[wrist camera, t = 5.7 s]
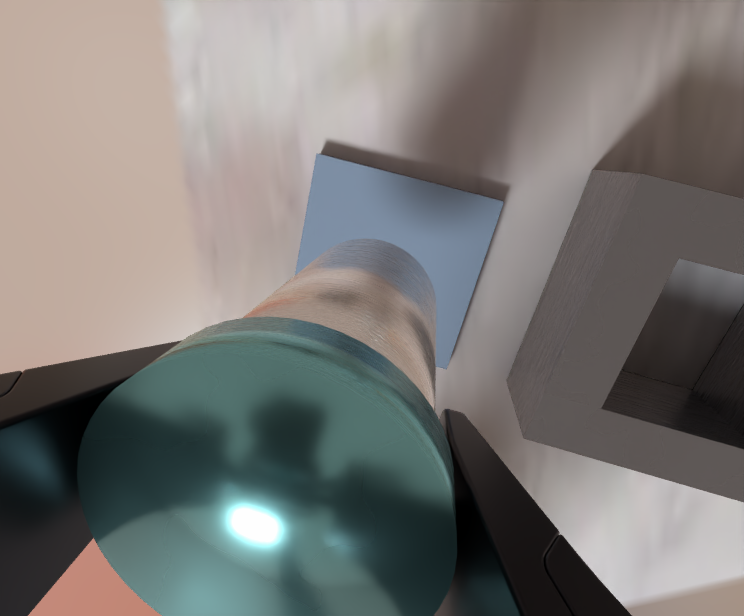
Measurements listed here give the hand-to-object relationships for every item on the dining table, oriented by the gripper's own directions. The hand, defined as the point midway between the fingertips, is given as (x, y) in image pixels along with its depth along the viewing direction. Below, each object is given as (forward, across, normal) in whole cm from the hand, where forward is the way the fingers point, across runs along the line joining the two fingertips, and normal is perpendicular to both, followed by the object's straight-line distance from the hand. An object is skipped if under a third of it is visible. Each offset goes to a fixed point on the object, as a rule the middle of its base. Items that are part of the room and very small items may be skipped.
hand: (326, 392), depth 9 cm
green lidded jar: (+6, 0, 0) cm, 6 cm away
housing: (+11, -12, -1) cm, 16 cm away
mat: (+11, 0, 0) cm, 11 cm away
